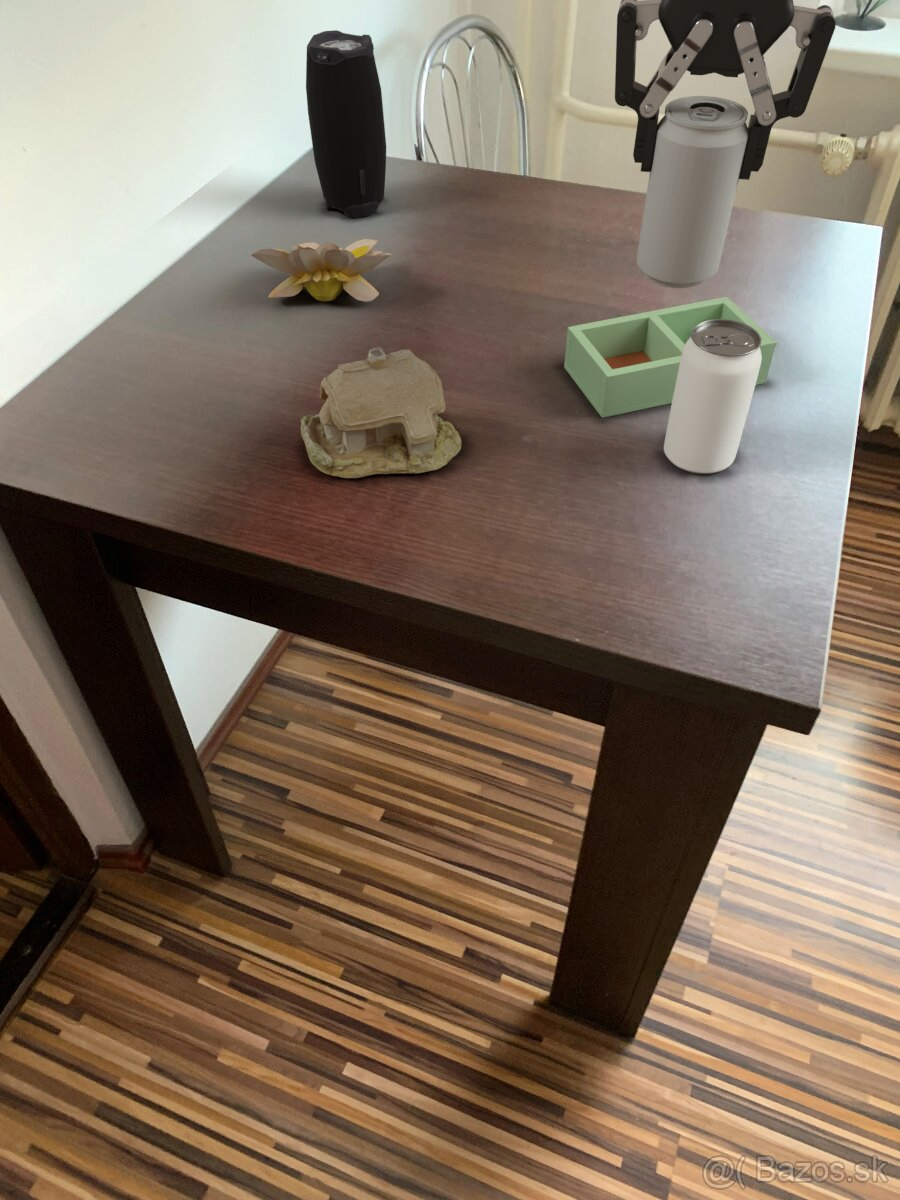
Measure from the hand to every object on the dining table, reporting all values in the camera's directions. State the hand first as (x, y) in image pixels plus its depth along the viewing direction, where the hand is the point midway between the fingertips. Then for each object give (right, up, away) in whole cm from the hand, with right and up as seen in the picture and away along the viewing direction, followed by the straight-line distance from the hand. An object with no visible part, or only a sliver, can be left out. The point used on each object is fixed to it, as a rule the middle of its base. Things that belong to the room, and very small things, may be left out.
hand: (694, 170), depth 64 cm
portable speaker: (-31, +21, +54) cm, 66 cm away
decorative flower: (-31, +4, +38) cm, 50 cm away
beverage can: (0, -6, +6) cm, 8 cm away
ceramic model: (-24, -17, +18) cm, 35 cm away
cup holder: (+4, -8, +25) cm, 27 cm away
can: (+5, -18, +16) cm, 25 cm away
